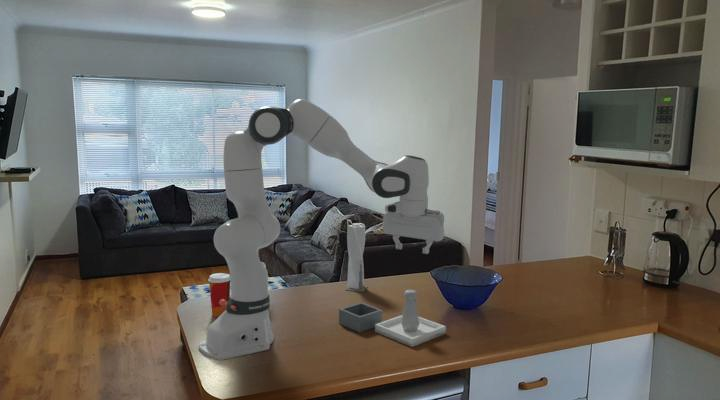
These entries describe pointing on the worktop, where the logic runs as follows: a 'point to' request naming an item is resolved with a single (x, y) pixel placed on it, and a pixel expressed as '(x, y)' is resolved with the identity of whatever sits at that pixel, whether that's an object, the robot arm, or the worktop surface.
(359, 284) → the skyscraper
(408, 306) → the salt shaker
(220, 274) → the paper cup
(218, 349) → the robot arm
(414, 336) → the tray
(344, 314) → the hollow square frame
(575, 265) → the worktop surface
